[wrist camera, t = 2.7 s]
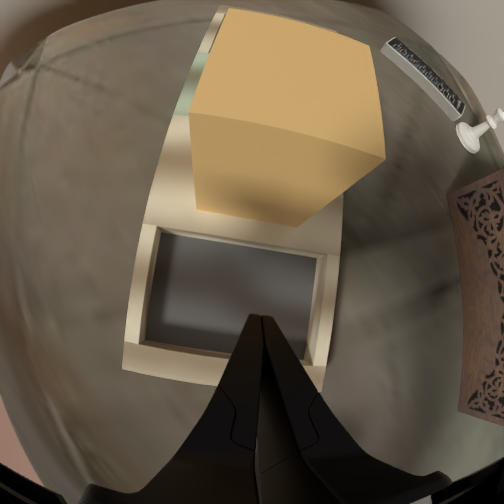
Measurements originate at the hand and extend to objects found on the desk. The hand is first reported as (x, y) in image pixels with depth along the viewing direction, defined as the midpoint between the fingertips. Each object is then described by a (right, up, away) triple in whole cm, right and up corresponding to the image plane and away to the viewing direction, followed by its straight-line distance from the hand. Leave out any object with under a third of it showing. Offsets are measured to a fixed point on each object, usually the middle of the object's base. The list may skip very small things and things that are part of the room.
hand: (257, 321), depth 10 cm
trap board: (0, +11, +13) cm, 17 cm away
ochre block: (0, +8, +10) cm, 13 cm away
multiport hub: (+24, +27, +20) cm, 41 cm away
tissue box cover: (+30, -3, +16) cm, 34 cm away
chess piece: (+30, +19, +19) cm, 40 cm away
